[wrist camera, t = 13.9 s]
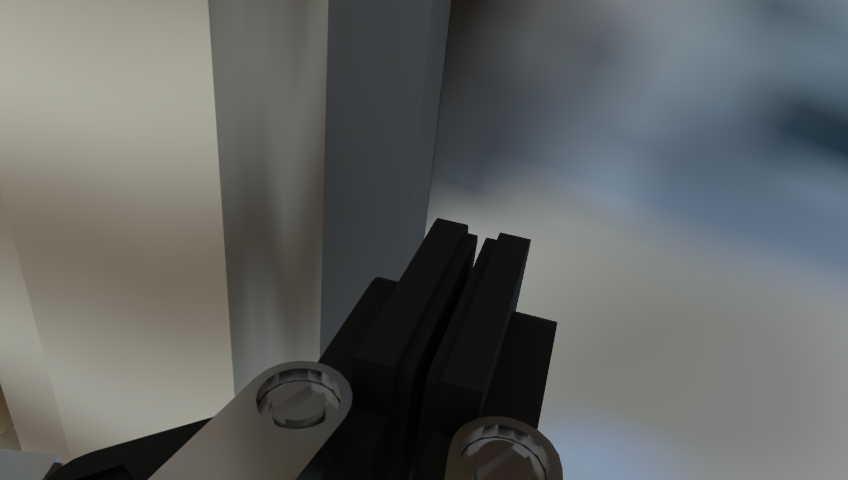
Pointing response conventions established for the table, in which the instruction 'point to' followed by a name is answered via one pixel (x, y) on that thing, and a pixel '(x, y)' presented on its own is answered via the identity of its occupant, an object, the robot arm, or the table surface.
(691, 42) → the table surface
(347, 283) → the slate board
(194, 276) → the grey long block
